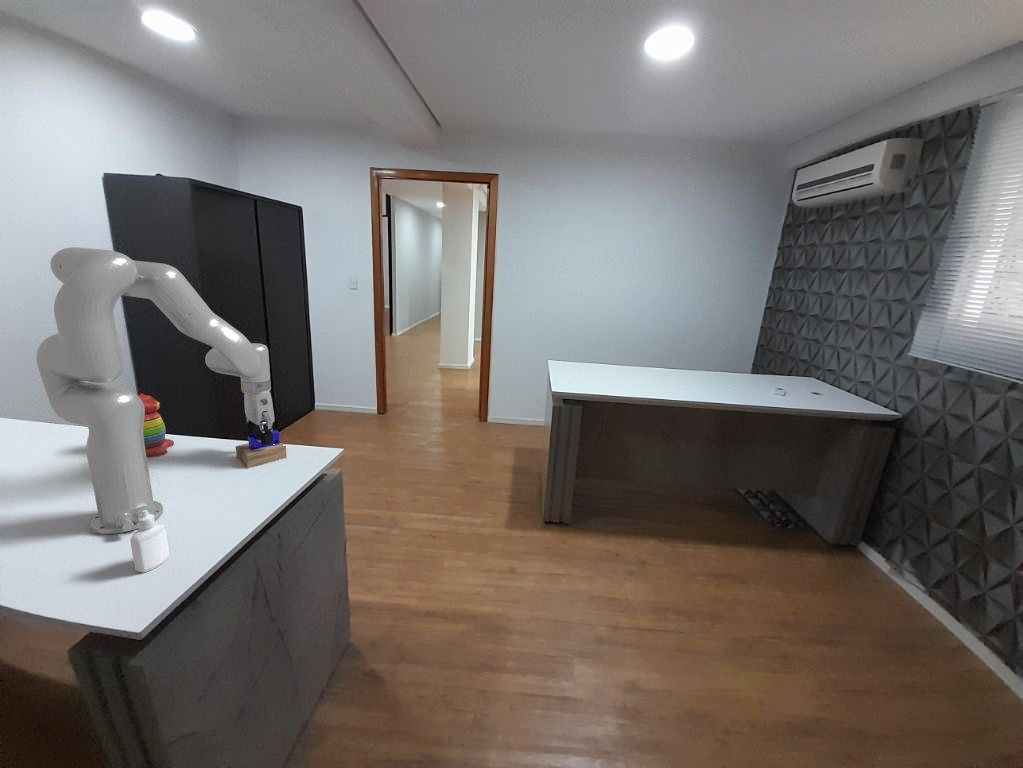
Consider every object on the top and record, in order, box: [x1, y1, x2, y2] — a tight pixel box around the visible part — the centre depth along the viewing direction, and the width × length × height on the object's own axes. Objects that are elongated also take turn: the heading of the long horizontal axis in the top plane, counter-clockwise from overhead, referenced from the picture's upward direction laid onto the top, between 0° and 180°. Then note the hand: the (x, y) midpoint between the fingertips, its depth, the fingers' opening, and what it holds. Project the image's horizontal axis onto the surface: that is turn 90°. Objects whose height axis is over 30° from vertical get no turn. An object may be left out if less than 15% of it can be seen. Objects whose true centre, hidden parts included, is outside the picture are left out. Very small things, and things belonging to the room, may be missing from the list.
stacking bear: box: [137, 393, 175, 458], centre depth 131 cm, size 11×10×18 cm
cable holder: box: [247, 429, 281, 450], centre depth 133 cm, size 8×4×4 cm, turn 138°
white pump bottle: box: [130, 510, 171, 574], centre depth 85 cm, size 4×6×12 cm
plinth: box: [235, 439, 287, 469], centre depth 133 cm, size 9×11×4 cm
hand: (260, 439), depth 132 cm, fingers open, 9 cm apart
